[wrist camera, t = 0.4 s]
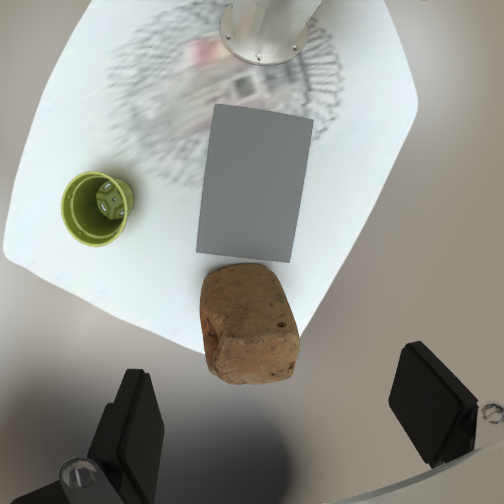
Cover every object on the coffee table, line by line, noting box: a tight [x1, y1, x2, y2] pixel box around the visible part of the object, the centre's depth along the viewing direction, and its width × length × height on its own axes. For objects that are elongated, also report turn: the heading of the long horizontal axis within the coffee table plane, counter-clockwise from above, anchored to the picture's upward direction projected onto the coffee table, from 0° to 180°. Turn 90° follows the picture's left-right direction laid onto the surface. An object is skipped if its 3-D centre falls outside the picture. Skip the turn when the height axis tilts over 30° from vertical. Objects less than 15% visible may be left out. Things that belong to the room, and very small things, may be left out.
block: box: [200, 264, 300, 385], centre depth 39 cm, size 11×8×20 cm
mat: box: [196, 104, 314, 263], centre depth 44 cm, size 22×14×1 cm, turn 172°
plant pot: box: [61, 171, 134, 247], centre depth 38 cm, size 9×9×9 cm
